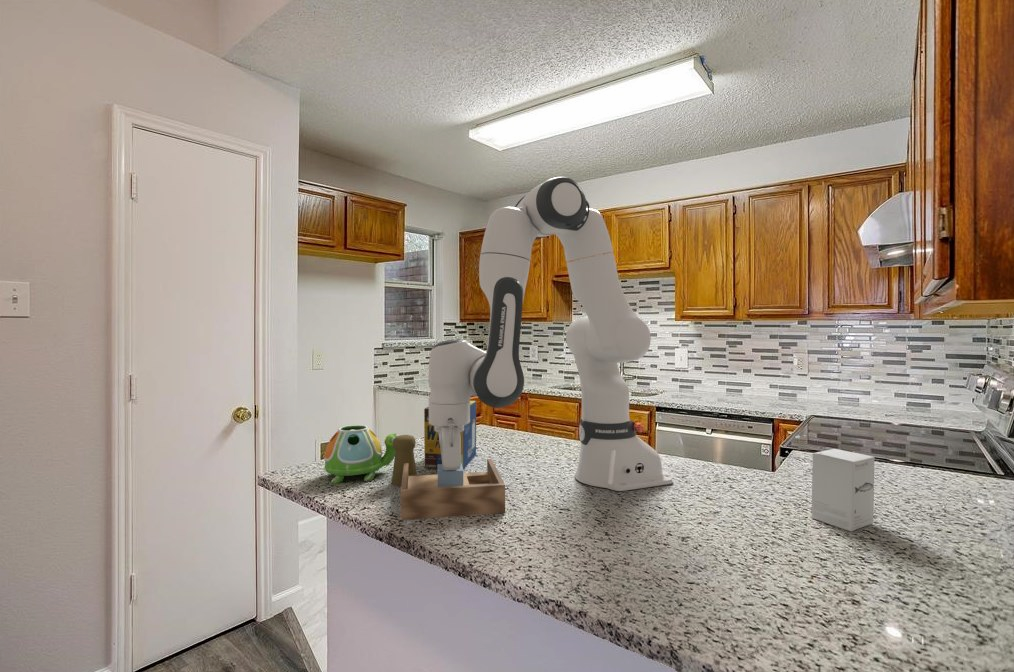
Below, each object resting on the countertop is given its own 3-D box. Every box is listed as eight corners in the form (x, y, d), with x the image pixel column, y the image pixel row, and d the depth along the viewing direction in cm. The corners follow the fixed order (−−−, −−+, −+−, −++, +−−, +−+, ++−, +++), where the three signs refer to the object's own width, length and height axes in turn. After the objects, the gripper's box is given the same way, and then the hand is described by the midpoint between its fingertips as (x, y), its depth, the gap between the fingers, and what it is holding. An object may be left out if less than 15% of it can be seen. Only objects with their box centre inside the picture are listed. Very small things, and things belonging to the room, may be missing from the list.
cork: (420, 478, 118) (420, 433, 117) (413, 487, 112) (413, 439, 111) (396, 478, 118) (395, 432, 118) (387, 486, 112) (387, 438, 112)
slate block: (461, 486, 104) (461, 463, 104) (463, 495, 99) (463, 470, 99) (437, 487, 103) (437, 464, 103) (438, 496, 98) (438, 472, 98)
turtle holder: (405, 477, 119) (404, 428, 118) (325, 487, 112) (325, 435, 112) (396, 464, 130) (395, 419, 130) (323, 472, 123) (322, 424, 123)
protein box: (423, 468, 126) (423, 408, 126) (441, 453, 141) (441, 399, 141) (463, 470, 124) (463, 409, 124) (477, 454, 139) (476, 400, 139)
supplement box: (852, 532, 86) (853, 461, 86) (810, 518, 93) (810, 451, 93) (875, 524, 90) (876, 456, 90) (832, 511, 96) (833, 447, 96)
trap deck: (491, 482, 115) (491, 458, 115) (505, 512, 96) (505, 484, 96) (404, 487, 111) (403, 463, 111) (400, 520, 93) (400, 491, 93)
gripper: (468, 424, 96) (468, 494, 96) (460, 406, 116) (461, 464, 116) (435, 425, 95) (435, 496, 95) (433, 407, 115) (434, 466, 115)
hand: (449, 478), depth 106 cm, fingers closed
